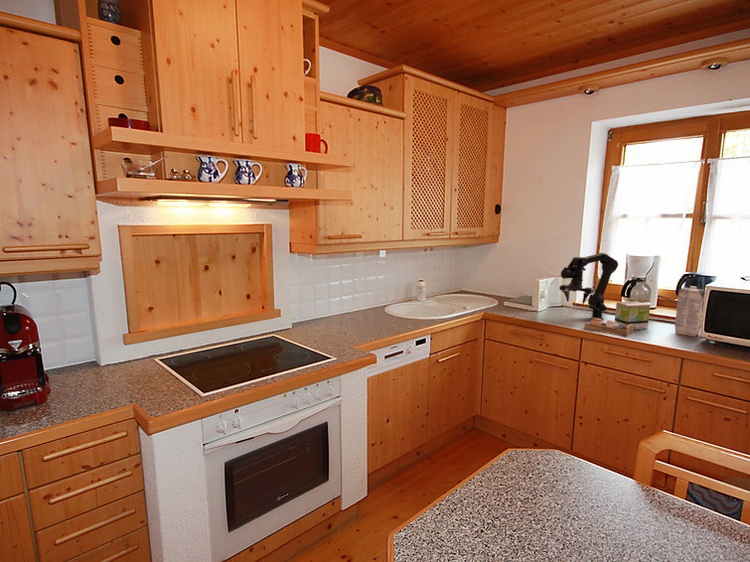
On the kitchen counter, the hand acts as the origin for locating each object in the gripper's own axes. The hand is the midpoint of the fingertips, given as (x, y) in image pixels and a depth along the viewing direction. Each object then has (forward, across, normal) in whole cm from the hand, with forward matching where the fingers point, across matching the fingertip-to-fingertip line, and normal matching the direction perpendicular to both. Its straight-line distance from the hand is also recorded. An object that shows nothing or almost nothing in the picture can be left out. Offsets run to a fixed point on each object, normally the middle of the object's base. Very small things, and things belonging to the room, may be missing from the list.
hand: (575, 302), depth 259 cm
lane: (+12, +22, -8) cm, 26 cm away
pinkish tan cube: (+12, +16, -8) cm, 21 cm away
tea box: (+12, +29, +9) cm, 33 cm away
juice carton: (+12, +55, +15) cm, 58 cm away
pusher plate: (+12, +27, -8) cm, 31 cm away
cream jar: (+12, +23, -8) cm, 28 cm away
